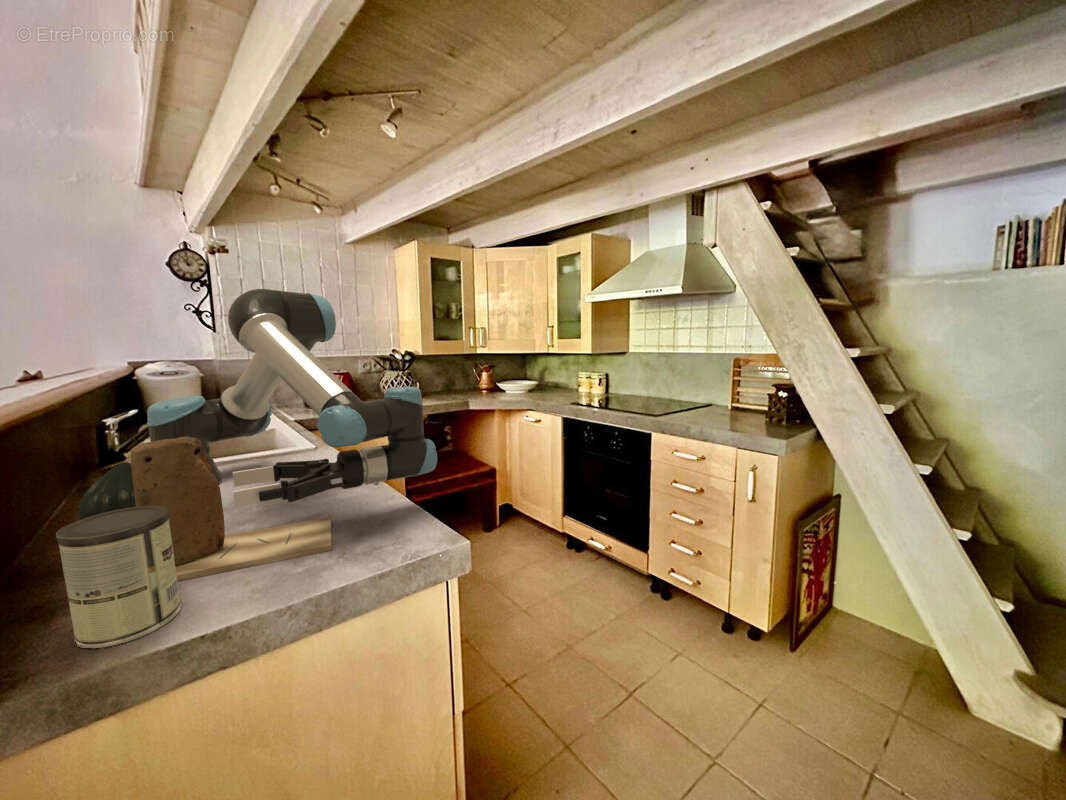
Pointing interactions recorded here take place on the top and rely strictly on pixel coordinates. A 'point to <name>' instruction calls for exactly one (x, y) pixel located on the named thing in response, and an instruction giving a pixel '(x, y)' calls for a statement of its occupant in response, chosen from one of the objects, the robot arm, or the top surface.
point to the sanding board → (261, 548)
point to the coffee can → (119, 574)
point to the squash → (109, 492)
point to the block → (181, 493)
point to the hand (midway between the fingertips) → (233, 488)
